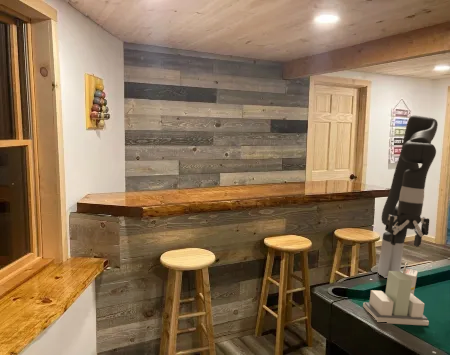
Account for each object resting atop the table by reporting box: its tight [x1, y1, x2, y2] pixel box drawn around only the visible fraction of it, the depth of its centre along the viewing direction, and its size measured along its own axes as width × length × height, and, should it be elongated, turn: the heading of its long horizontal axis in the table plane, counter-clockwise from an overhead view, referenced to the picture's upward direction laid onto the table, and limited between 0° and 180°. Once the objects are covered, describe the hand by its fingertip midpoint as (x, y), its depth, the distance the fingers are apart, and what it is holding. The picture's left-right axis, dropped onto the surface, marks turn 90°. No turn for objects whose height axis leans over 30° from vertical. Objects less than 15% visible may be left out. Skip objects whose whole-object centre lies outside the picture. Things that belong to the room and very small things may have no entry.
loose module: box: [384, 270, 412, 316], centre depth 132 cm, size 8×4×13 cm, turn 2°
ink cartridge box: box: [402, 261, 418, 296], centre depth 147 cm, size 9×5×15 cm, turn 149°
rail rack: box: [362, 289, 430, 326], centre depth 133 cm, size 12×18×7 cm, turn 92°
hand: (404, 245), depth 130 cm, fingers open, 8 cm apart
